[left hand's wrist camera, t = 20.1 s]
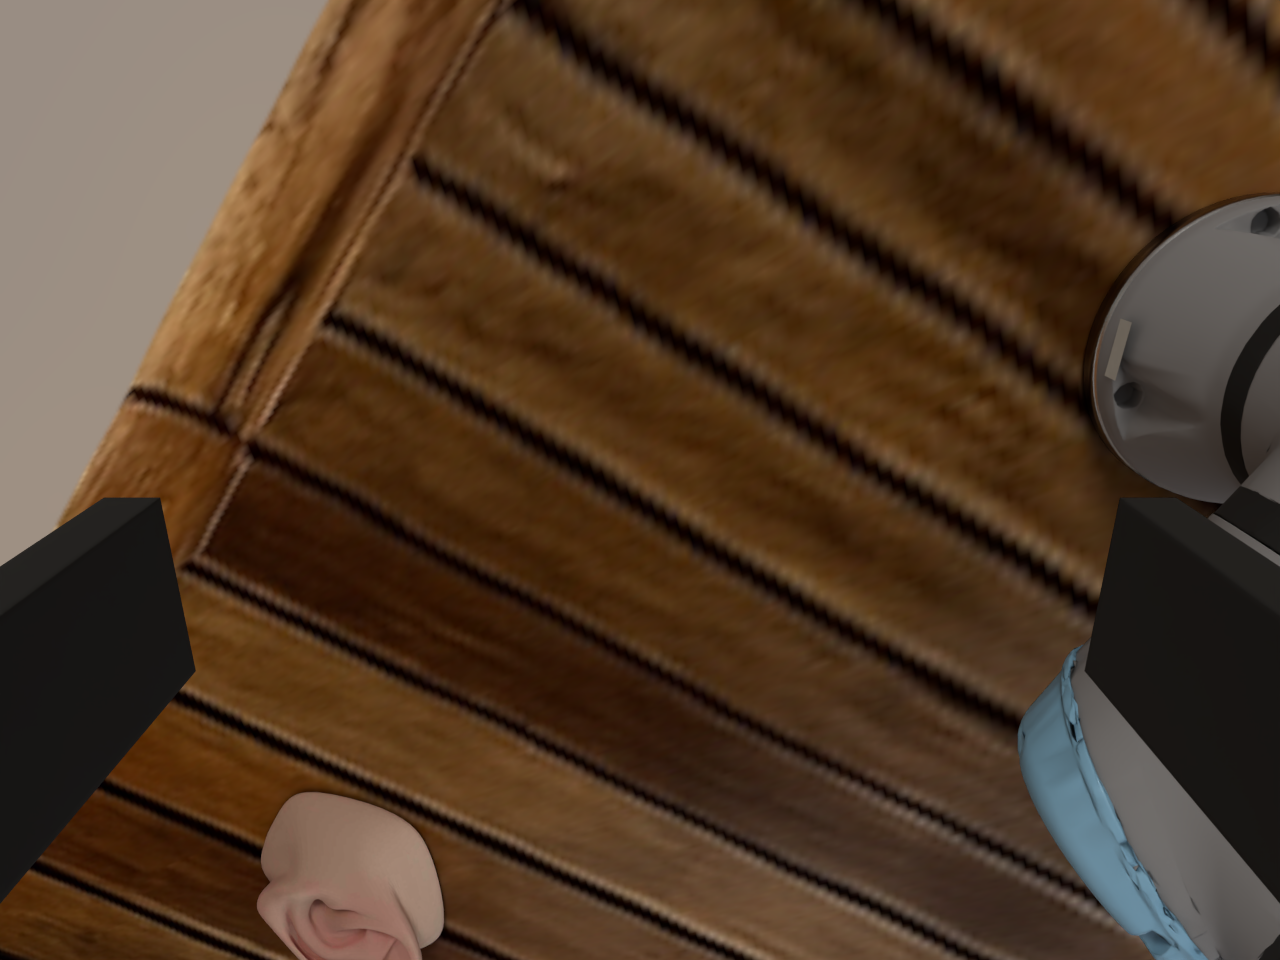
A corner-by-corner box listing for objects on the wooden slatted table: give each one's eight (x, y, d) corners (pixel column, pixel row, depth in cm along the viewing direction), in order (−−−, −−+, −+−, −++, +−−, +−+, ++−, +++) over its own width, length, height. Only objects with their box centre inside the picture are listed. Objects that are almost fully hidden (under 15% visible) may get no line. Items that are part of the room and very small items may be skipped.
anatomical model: (225, 834, 51) (426, 843, 51) (253, 787, 55) (440, 795, 55) (249, 1002, 56) (432, 1009, 56) (273, 949, 60) (445, 955, 60)
